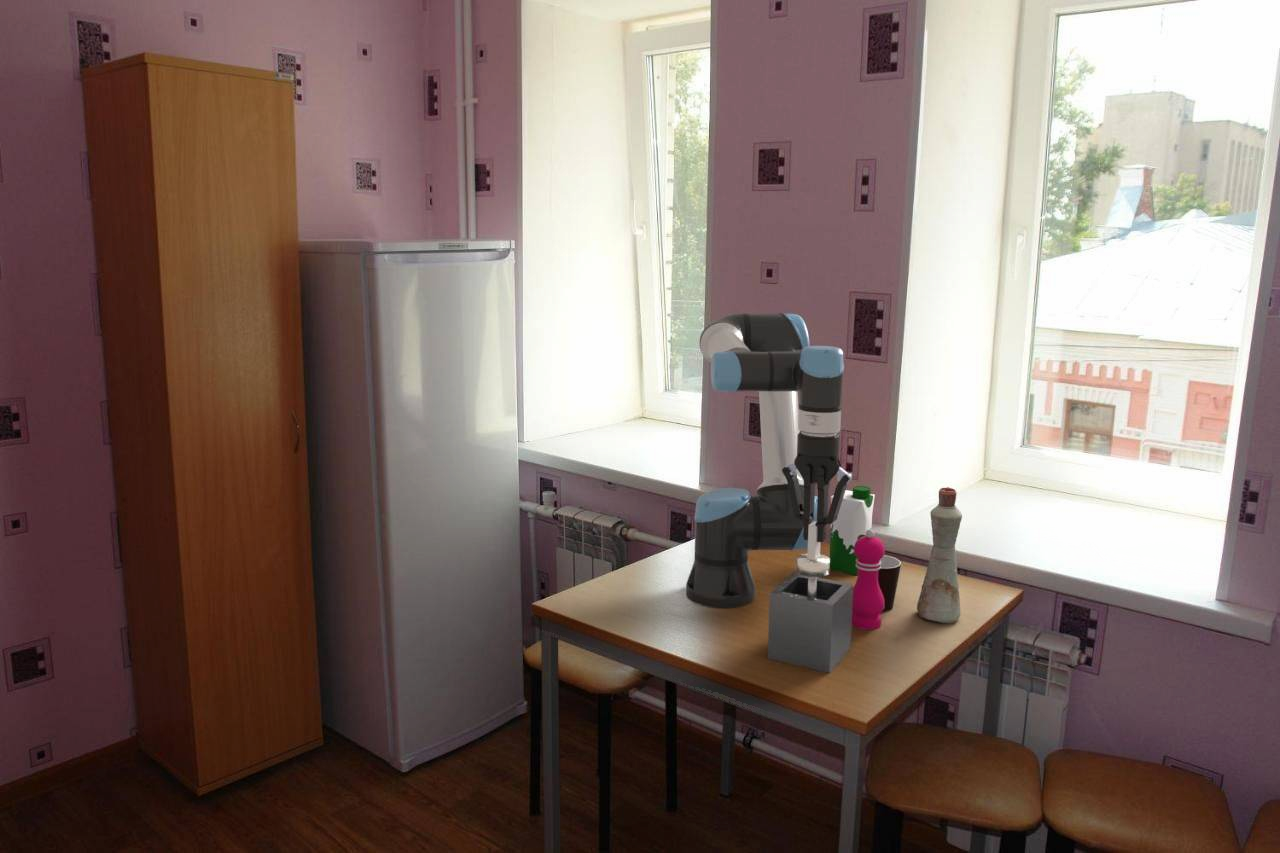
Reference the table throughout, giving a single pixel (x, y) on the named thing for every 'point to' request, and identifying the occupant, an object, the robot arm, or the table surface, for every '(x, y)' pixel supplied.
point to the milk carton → (850, 528)
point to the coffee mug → (889, 580)
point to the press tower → (810, 622)
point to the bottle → (942, 563)
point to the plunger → (813, 570)
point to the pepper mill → (868, 583)
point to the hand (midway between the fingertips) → (813, 557)
